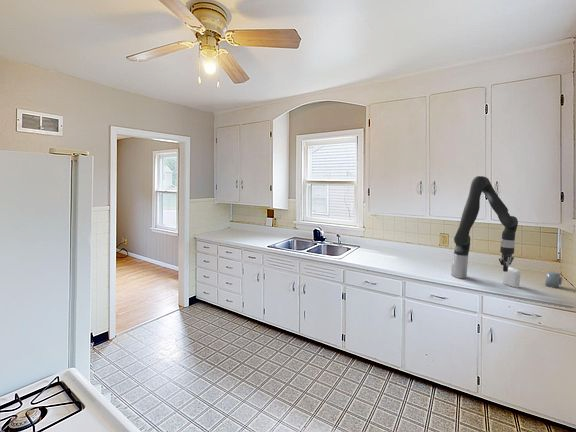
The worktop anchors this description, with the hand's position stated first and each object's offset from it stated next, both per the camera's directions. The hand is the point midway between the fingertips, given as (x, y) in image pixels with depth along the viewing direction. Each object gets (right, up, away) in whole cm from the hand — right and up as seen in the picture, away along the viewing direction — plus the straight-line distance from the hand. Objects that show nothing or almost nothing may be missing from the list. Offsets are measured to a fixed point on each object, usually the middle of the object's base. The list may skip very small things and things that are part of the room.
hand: (505, 271), depth 201 cm
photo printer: (+7, -11, +5) cm, 14 cm away
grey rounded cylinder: (+34, -11, +3) cm, 35 cm away
